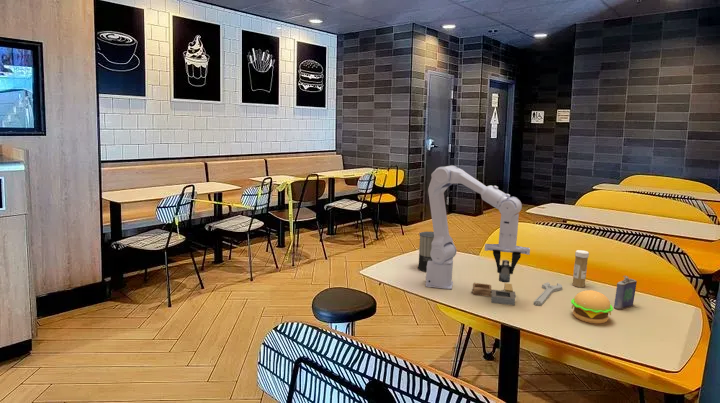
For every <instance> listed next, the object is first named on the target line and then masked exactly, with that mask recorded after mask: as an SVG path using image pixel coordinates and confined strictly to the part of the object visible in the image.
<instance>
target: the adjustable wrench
mask: <svg viewBox="0 0 720 403" xmlns="http://www.w3.org/2000/svg"><path fill="white" fill-rule="evenodd" d="M541 289H544V290H543V291H542V293H540V294H539V295H538V296H537V297H536V298H535V299H534V300H533V305H534V306H536V307H542V306H543V304H544V303H545V302H546V301H547V300H548V299H549V297H550V296H551V295H552V294H553V293H555V292H560V291H562V290H563V285H562V284H561V283H558V282H557V283H556V285H552V284H551V283H550V282H544V283H543V284H541Z"/></svg>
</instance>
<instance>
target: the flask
mask: <svg viewBox="0 0 720 403" xmlns="http://www.w3.org/2000/svg"><path fill="white" fill-rule="evenodd" d="M622 277H623V280H621V281H618V282H617V283H616V288H615V289H616V291H615V298H614V303H613V304H614V305H613V309H615V310H618V311H619V310H624V309H627V308H630V307H634V300H635V296H636V288H637V284H638V283H637V280H636V279H633V278H629V276H627V275H623V276H622Z"/></svg>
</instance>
